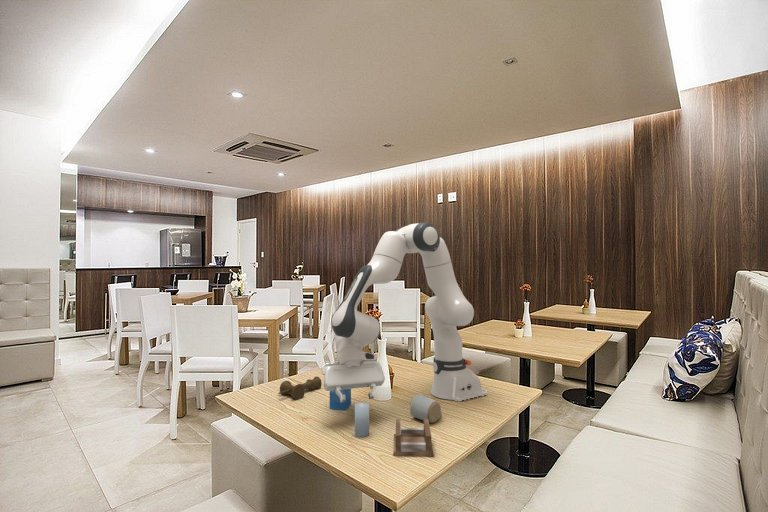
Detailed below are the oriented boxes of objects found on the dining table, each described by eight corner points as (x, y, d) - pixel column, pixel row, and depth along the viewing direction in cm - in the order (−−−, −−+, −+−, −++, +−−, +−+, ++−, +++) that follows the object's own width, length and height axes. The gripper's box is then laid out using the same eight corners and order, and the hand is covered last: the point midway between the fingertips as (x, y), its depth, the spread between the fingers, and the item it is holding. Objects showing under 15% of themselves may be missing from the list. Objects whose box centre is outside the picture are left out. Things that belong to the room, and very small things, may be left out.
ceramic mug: (429, 427, 122) (429, 402, 122) (409, 419, 128) (409, 396, 128) (447, 417, 130) (447, 395, 130) (428, 411, 136) (428, 389, 136)
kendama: (326, 391, 157) (285, 404, 142) (311, 387, 163) (270, 399, 148) (326, 376, 158) (286, 387, 142) (311, 373, 164) (271, 383, 148)
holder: (430, 437, 115) (430, 419, 115) (433, 456, 104) (433, 436, 104) (393, 437, 115) (393, 418, 115) (393, 455, 104) (393, 435, 104)
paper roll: (367, 430, 120) (366, 401, 120) (370, 436, 116) (370, 406, 116) (353, 431, 119) (353, 402, 119) (356, 438, 114) (356, 407, 115)
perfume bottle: (346, 410, 136) (346, 376, 136) (329, 409, 137) (329, 375, 137) (351, 404, 142) (351, 371, 142) (335, 402, 143) (335, 370, 143)
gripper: (321, 358, 126) (326, 398, 116) (381, 354, 132) (389, 391, 122) (319, 368, 130) (324, 407, 121) (377, 364, 136) (385, 401, 127)
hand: (357, 399), depth 122 cm, fingers open, 8 cm apart
